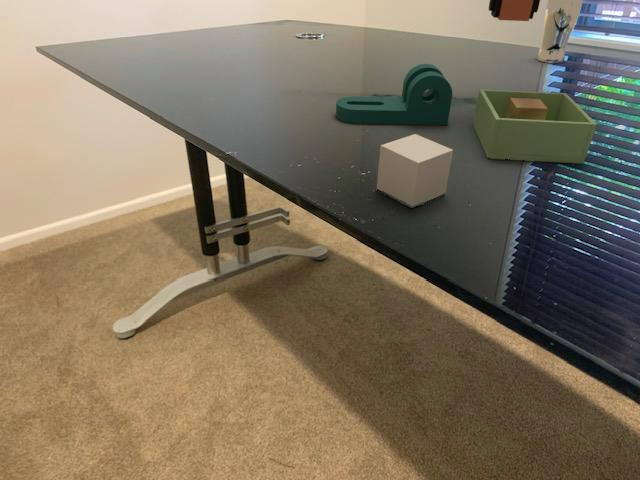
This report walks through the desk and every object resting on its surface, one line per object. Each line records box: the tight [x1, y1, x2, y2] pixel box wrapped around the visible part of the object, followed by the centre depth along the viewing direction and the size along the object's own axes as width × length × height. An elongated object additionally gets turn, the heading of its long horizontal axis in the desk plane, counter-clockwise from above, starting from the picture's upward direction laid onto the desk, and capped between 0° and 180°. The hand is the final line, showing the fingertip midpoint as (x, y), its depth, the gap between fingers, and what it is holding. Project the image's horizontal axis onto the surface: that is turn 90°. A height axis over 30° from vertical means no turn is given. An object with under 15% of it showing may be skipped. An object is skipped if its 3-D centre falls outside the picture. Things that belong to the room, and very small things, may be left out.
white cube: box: [376, 133, 454, 206], centre depth 61 cm, size 6×6×6 cm
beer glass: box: [535, 0, 584, 64], centre depth 113 cm, size 7×7×15 cm
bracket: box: [335, 63, 453, 126], centre depth 82 cm, size 18×7×8 cm, turn 90°
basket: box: [472, 88, 598, 165], centre depth 74 cm, size 13×13×6 cm
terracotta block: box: [496, 0, 533, 22], centre depth 79 cm, size 4×4×4 cm
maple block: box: [505, 98, 548, 120], centre depth 76 cm, size 4×4×4 cm
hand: (511, 15), depth 80 cm, fingers closed on terracotta block, 4 cm apart
